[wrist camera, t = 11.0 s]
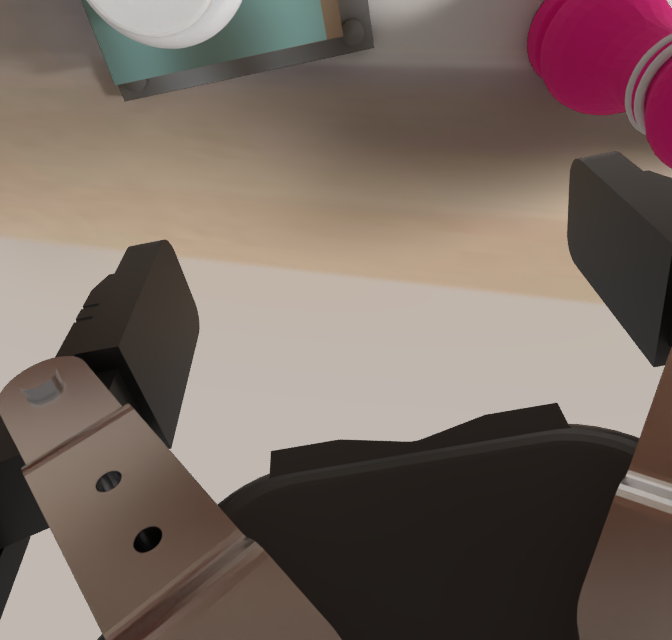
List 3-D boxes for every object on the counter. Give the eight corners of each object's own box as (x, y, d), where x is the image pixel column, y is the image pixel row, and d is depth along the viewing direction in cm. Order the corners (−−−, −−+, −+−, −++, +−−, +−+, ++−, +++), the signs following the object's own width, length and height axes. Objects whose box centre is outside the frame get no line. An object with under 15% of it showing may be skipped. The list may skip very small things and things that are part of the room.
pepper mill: (496, 38, 38) (655, 149, 22) (592, -61, 35) (857, -18, 19) (559, 114, 41) (739, 260, 25) (651, 29, 38) (922, 132, 22)
